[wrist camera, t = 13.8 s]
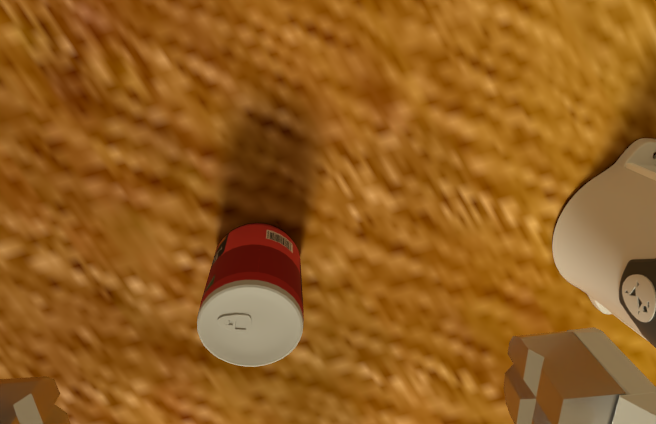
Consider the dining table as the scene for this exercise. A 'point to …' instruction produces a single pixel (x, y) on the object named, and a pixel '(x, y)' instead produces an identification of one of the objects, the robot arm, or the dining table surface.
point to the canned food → (253, 297)
